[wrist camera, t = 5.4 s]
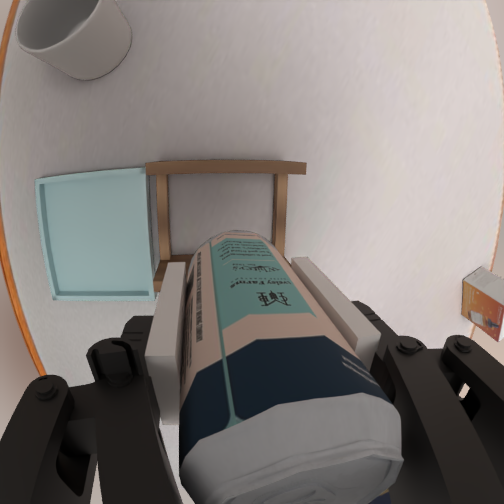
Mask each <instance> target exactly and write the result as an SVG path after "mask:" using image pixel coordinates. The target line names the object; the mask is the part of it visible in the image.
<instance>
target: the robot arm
mask: <svg viewBox="0 0 504 504" xmlns="http://www.w3.org/2000/svg"><path fill="white" fill-rule="evenodd" d="M291 268H292V270H293V271H294V272H295V274H296V275H297V276H298V278H299V279H300V280H301V281H302V283H303V284H304V285H305V287H306V288H307V289H308V291H309V292H310V293H311V295H312V296H313V297H314V299H315V300H316V301H317V302H318V304H319V305H320V306H321V308H322V309H323V310H324V312H325V313H326V314H327V316H328V317H329V318H330V320H331V321H332V322H333V324H334V325H335V326H336V328H337V329H338V330H339V332H340V333H341V334H342V336H343V337H344V338H345V340H346V341H347V342H348V344H349V345H350V346H351V348H352V349H353V351H354V352H355V353H356V355H357V356H358V357H359V359H360V360H361V361H362V363H363V364H364V365H365V367H366V368H367V370H368V371H369V372H370V374H371V375H372V376H373V378H374V379H375V381H376V382H377V383H378V385H379V386H380V387H381V389H382V390H383V392H384V393H385V394H386V396H387V397H388V398H389V400H390V401H391V403H392V404H393V405H394V407H395V408H396V410H397V411H398V413H399V415H400V419H401V456H402V458H403V459H404V461H403V464H402V467H401V469H400V472H399V474H398V476H397V479H396V481H395V483H394V484H393V485H391V486H390V487H389V488H388V490H389V495H390V499H391V504H504V366H503V365H502V364H501V363H499V362H498V361H497V360H496V359H495V358H494V357H492V356H491V355H490V354H489V353H488V352H487V351H485V350H484V349H483V348H482V347H481V346H479V345H478V344H477V343H476V342H475V341H473V340H471V339H470V338H468V337H465V336H463V335H453V336H450V337H448V338H447V340H446V342H445V345H444V347H443V349H427V347H426V346H425V345H424V344H423V343H422V342H421V341H419V340H418V339H416V338H413V337H409V336H398V335H397V334H396V333H395V332H394V331H393V330H392V329H391V328H390V327H389V326H388V325H387V324H386V323H385V322H384V321H383V320H381V318H380V317H379V316H378V315H377V314H375V312H374V311H373V310H372V309H371V308H370V307H369V306H367V305H365V304H363V303H361V302H359V301H350V300H349V299H348V298H347V297H346V296H345V295H344V294H343V293H342V292H341V291H340V290H339V289H338V288H337V287H336V286H335V285H334V284H333V283H332V282H331V280H330V279H329V278H328V277H327V276H326V275H325V274H324V273H323V272H322V271H321V270H320V269H319V268H318V267H317V266H316V265H315V264H314V263H313V262H312V261H311V260H310V259H309V258H308V257H295V258H292V261H291ZM186 292H187V279H186V265H185V262H169V263H168V265H167V269H166V272H165V276H164V279H163V283H162V287H161V291H160V294H159V298H158V302H157V306H156V310H155V314H154V316H133V317H132V318H131V319H130V320H129V321H128V322H127V323H126V324H125V327H124V329H123V334H122V335H121V338H108V339H104V340H101V341H99V342H97V343H95V344H94V345H93V346H92V347H90V348H89V349H88V352H87V354H86V357H87V360H88V363H89V365H90V368H91V371H92V374H93V376H94V379H95V382H93V383H90V384H86V385H81V386H74V387H68V384H67V382H66V381H65V380H64V379H63V378H62V377H60V376H57V375H44V376H41V377H38V378H37V379H35V380H33V381H32V382H31V383H30V384H29V386H28V387H27V389H26V390H25V392H24V394H23V396H22V398H21V399H20V402H19V403H18V405H17V407H16V409H15V411H14V413H13V415H12V417H11V419H10V421H9V423H8V425H7V427H6V430H5V432H4V434H3V436H2V438H1V441H0V504H90V500H91V494H92V487H93V482H94V476H95V471H96V465H97V461H98V471H99V480H100V488H101V495H102V502H103V504H183V502H182V499H181V496H180V494H179V491H178V488H177V485H176V482H175V479H174V475H173V472H172V469H171V466H170V462H169V459H168V456H167V452H166V449H165V445H164V441H163V438H162V434H161V431H160V428H159V421H160V417H161V421H162V424H163V425H179V406H180V389H181V366H182V347H183V331H184V317H185V304H186ZM465 383H466V384H467V385H468V386H469V387H470V389H469V391H468V393H467V395H466V396H465V398H461V397H460V396H459V393H460V391H461V389H462V388H463V385H464V384H465Z"/></svg>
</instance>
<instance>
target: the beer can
mask: <svg viewBox="0 0 504 504" xmlns="http://www.w3.org/2000/svg"><path fill="white" fill-rule="evenodd" d="M403 461H404V459H403V458H402V456H401V419H400V415H399V413H398V411H397V410H396V408H395V407H394V405H393V404H392V403H391V401H390V400H389V398H388V397H387V396H386V394H385V393H384V392H383V390H382V389H381V387H380V386H379V385H378V383H377V382H376V381H375V379H374V378H373V376H372V375H371V374H370V372H369V371H368V370H367V368H366V367H365V365H364V364H363V363H362V361H361V360H360V359H359V357H358V356H357V355H356V353H355V352H354V351H353V349H352V348H351V346H350V345H349V344H348V342H347V341H346V340H345V338H344V337H343V336H342V334H341V333H340V332H339V330H338V329H337V328H336V326H335V325H334V324H333V322H332V321H331V320H330V318H329V317H328V316H327V314H326V313H325V312H324V310H323V309H322V308H321V306H320V305H319V304H318V302H317V301H316V300H315V299H314V297H313V296H312V295H311V293H310V292H309V291H308V289H307V288H306V287H305V285H304V284H303V283H302V281H301V280H300V279H299V278H298V276H297V275H296V274H295V272H294V271H293V270H292V268H291V267H290V266H289V265H288V263H287V262H286V261H285V259H284V258H283V257H282V256H281V254H280V253H279V252H278V250H277V249H276V248H275V246H274V245H273V244H271V243H270V242H269V241H268V240H267V239H266V238H264V237H262V236H260V235H258V234H256V233H253V232H250V231H239V230H234V231H228V232H223V233H220V234H218V235H216V236H214V237H212V238H210V239H209V240H208V241H206V242H205V243H204V244H203V245H201V246H200V247H199V249H198V250H197V251H196V252H195V254H194V256H193V258H192V260H191V263H190V266H189V270H188V277H187V292H186V304H185V317H184V331H183V347H182V366H181V389H180V406H179V477H180V480H181V485H182V486H183V487H184V489H185V490H186V491H187V493H188V494H189V495H190V497H191V498H192V500H193V501H194V503H195V504H368V503H370V502H371V501H372V500H374V499H375V498H376V497H378V496H379V495H380V494H381V493H383V492H384V491H385V490H386V489H388V488H389V487H390V486H391V485H393V484H394V483H395V481H396V479H397V476H398V474H399V472H400V469H401V467H402V464H403Z"/></svg>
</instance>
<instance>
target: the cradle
mask: <svg viewBox="0 0 504 504" xmlns="http://www.w3.org/2000/svg"><path fill="white" fill-rule="evenodd" d="M193 173H275V177H274V207H273V234H272V244H273V245H274V246H275V248H276V249H277V250H278V252H279V253H280V254H281V256H282V257H283V258H284V259H285V261H286V262H287V263H288V265H289V266H290V267H291V264H290V263H289V262H288V261H287V259H286V258H285V257H284V247H285V227H286V206H287V181H288V174H303V175H306V163H303V162H291V161H272V160H182V161H159V162H150V163H146V175H156V187H157V214H158V232H159V247H160V263H159V266H158V268H157V271H156V274H155V277H154V279H153V288H154V292H160V291H161V287H162V283H163V279H164V276H165V272H166V269H167V265H168V263H169V262H185V265H186V279H187V277H188V270H189V266H190V263H191V260H192V258H193V256H194V255H171V243H170V224H169V197H168V174H193Z"/></svg>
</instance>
